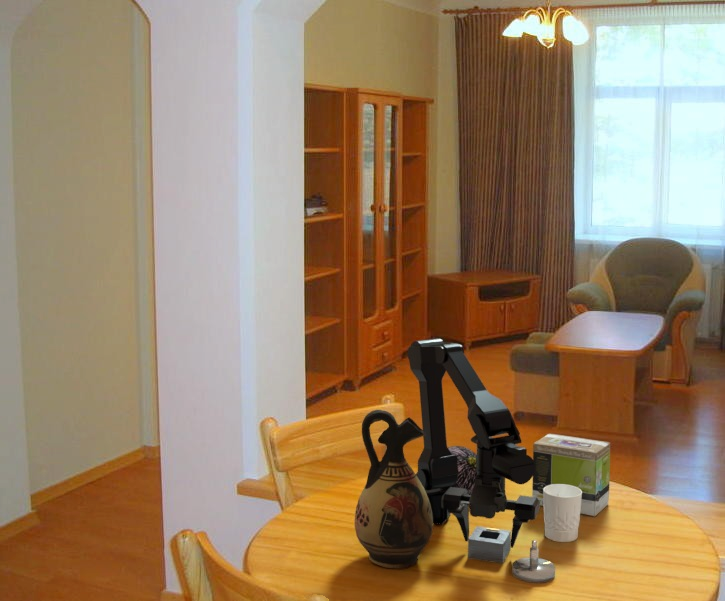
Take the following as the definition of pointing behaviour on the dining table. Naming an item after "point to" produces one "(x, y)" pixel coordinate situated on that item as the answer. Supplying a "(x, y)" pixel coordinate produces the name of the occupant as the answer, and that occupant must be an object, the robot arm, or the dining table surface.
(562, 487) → the white cup
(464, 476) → the decorative flower
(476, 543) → the grey knob housing box
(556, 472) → the tea box
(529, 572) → the hub
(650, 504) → the dining table surface
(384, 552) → the ceramic jug
